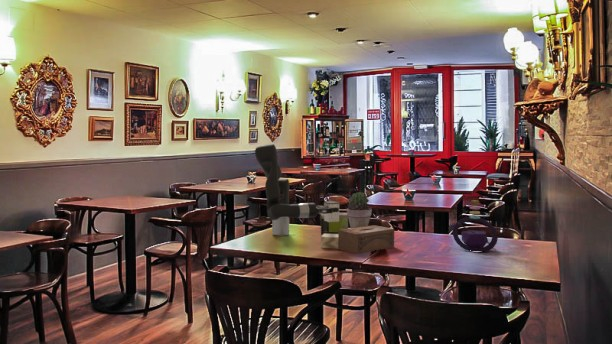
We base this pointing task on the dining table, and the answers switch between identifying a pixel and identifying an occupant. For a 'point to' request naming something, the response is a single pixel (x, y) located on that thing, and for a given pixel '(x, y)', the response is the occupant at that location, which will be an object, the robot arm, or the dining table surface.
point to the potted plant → (359, 210)
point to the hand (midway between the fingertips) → (335, 209)
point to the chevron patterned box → (329, 241)
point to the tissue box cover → (365, 239)
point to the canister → (334, 215)
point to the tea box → (334, 224)
